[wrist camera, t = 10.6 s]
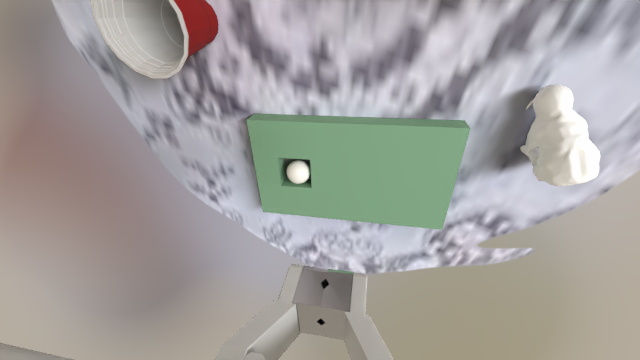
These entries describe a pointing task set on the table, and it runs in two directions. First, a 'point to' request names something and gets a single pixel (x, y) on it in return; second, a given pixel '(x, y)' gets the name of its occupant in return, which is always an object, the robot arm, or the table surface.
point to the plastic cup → (155, 32)
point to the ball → (298, 171)
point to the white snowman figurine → (560, 140)
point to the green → (359, 167)
